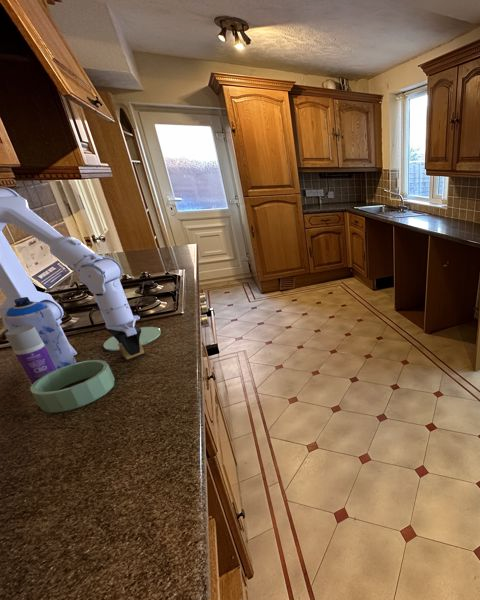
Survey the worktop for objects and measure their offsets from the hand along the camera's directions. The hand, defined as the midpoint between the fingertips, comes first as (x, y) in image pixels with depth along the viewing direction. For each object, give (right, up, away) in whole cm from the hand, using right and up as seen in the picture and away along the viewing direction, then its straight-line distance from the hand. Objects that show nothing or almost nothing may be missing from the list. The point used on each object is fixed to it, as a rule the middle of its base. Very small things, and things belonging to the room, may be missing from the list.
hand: (132, 351), depth 88 cm
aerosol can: (-15, -4, -5) cm, 16 cm away
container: (-11, -7, -11) cm, 17 cm away
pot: (0, -7, -14) cm, 16 cm away
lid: (-6, +2, +8) cm, 10 cm away
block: (0, -1, +1) cm, 1 cm away
